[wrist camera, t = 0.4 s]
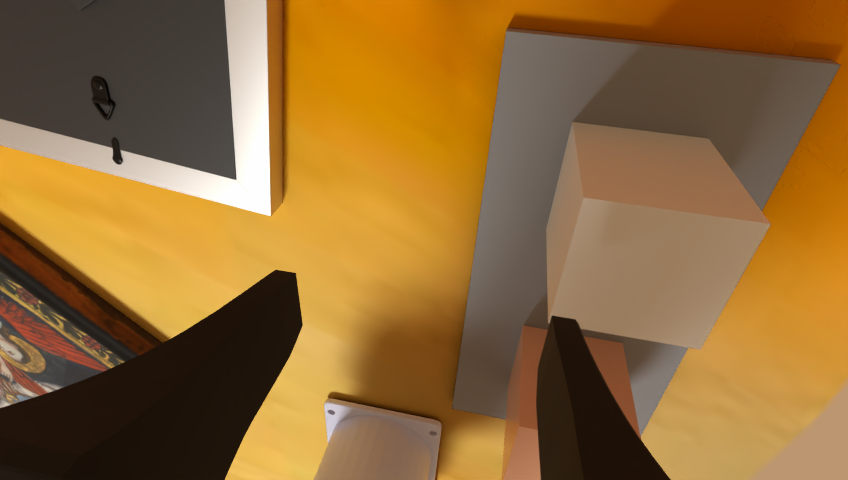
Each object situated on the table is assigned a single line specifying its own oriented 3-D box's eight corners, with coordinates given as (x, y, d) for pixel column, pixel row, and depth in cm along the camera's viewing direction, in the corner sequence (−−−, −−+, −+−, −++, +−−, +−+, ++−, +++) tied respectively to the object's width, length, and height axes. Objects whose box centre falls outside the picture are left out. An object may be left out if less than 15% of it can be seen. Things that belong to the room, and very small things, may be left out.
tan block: (663, 246, 21) (700, 349, 16) (546, 229, 22) (548, 323, 17) (708, 138, 18) (770, 223, 13) (572, 122, 19) (583, 197, 14)
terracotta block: (596, 404, 27) (609, 512, 22) (507, 387, 28) (501, 488, 23) (622, 343, 24) (643, 451, 20) (522, 325, 25) (518, 426, 20)
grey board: (634, 436, 29) (635, 446, 29) (453, 400, 30) (451, 408, 30) (831, 60, 16) (840, 64, 16) (507, 27, 18) (506, 31, 17)
